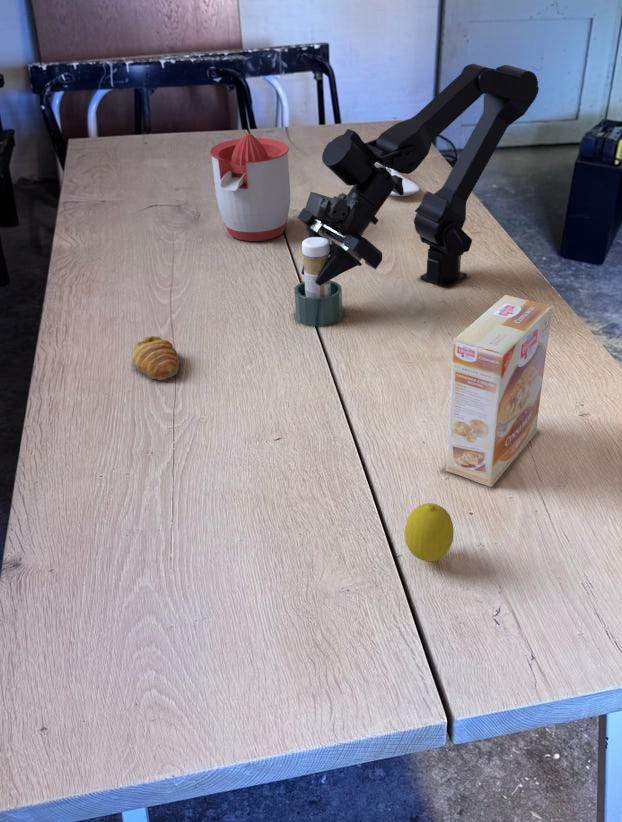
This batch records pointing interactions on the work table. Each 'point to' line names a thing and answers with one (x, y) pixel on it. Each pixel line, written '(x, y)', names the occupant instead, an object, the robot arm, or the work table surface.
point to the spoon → (404, 184)
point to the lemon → (429, 532)
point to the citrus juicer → (252, 186)
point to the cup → (318, 306)
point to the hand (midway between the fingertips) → (310, 279)
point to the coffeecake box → (496, 388)
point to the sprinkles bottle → (315, 266)
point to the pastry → (155, 358)
